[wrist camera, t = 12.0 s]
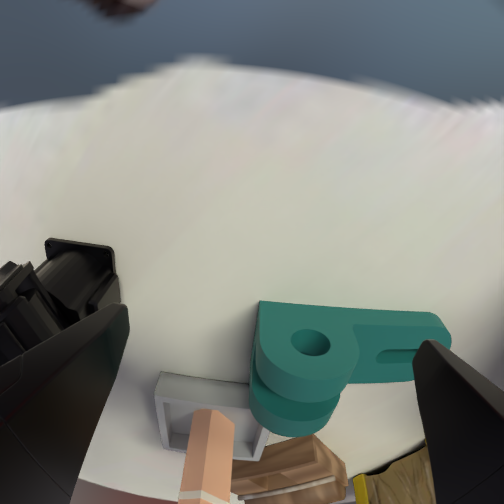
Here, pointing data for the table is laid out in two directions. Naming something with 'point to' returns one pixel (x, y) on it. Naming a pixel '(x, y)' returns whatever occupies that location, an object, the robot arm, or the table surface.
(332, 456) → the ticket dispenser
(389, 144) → the table surface
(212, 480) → the peach block
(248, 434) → the tray
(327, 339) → the bracket
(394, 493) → the decorative book
